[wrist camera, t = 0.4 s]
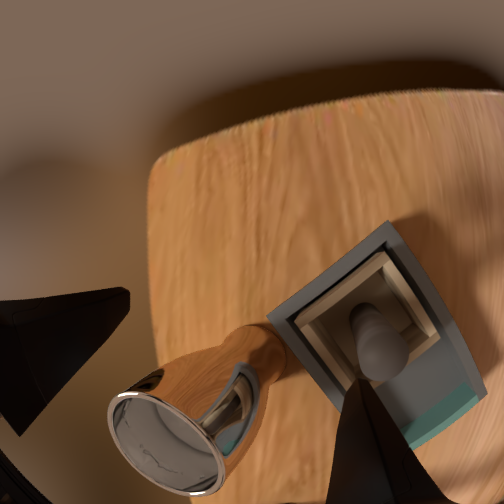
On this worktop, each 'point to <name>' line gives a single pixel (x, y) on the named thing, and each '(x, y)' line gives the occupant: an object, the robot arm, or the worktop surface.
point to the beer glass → (198, 412)
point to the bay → (414, 374)
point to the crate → (368, 324)
